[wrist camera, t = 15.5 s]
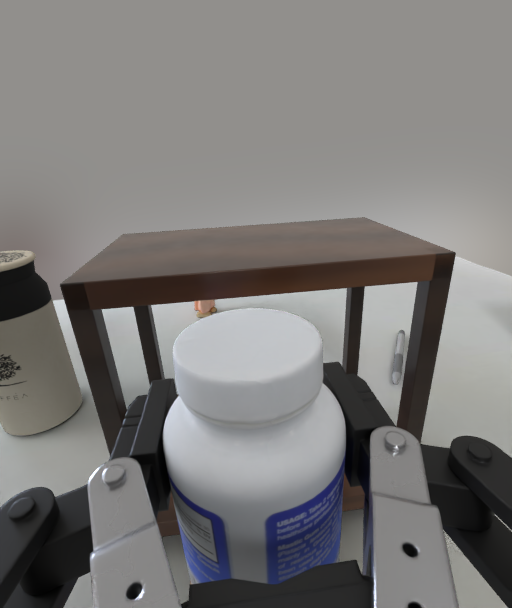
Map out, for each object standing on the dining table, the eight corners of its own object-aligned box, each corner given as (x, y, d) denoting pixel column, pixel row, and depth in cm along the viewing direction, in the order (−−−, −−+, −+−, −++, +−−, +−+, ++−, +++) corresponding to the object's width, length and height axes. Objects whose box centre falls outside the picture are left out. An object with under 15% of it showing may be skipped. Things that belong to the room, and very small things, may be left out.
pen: (404, 336, 51) (406, 328, 50) (399, 392, 39) (400, 381, 39) (397, 335, 51) (398, 327, 51) (389, 390, 40) (391, 380, 39)
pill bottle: (327, 500, 15) (337, 296, 11) (350, 667, 10) (381, 399, 6) (206, 496, 16) (178, 299, 12) (171, 654, 11) (104, 397, 7)
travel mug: (47, 386, 44) (-3, 248, 36) (97, 395, 41) (56, 250, 34) (-15, 430, 37) (-90, 271, 30) (43, 444, 34) (-24, 275, 27)
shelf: (407, 515, 26) (456, 252, 18) (138, 554, 24) (58, 284, 16) (350, 409, 37) (364, 217, 29) (162, 431, 35) (122, 234, 27)
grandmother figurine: (202, 305, 66) (194, 240, 61) (221, 305, 65) (215, 239, 60) (187, 322, 59) (177, 251, 54) (209, 323, 58) (200, 251, 53)
